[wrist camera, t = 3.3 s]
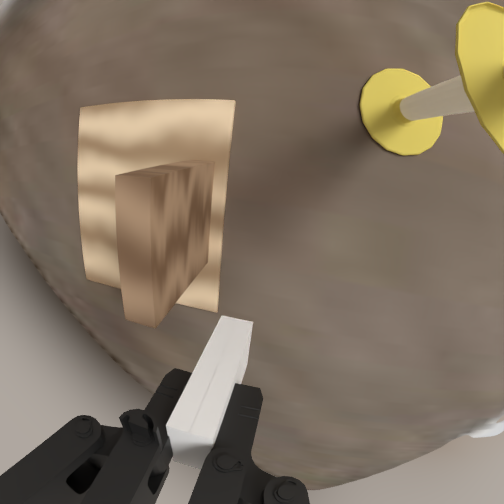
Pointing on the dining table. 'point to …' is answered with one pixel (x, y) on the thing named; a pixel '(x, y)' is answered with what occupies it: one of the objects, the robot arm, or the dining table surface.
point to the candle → (442, 89)
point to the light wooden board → (144, 156)
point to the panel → (161, 235)
